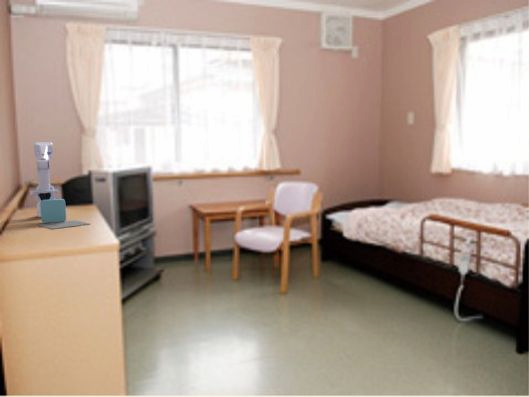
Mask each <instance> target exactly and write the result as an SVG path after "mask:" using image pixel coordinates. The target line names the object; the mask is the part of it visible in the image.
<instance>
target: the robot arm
mask: <svg viewBox="0 0 529 397" xmlns="http://www.w3.org/2000/svg"><path fill="white" fill-rule="evenodd" d="M53 145H54V144H53V143H52V142H51V141H50V142H49V141H47V142H46V141H43V142H42V141H41V142H39V141H37V142H36V141H35V142H34V143H33V150H34V156H35V159H37V161H36V162H35V163H36V170H37V172H36V173H37V184H38V186H36V188H35V190H30V191H29V194H30V196H32V195H35V201H37V204H36V215H35V217H38V218H41V207H40V203H41V201H42V200H52V199H56V194H59V189H58V188H57V189H56V188H55V187H54V185H51V180H50V179H51V178H50V176H51V175H50V170H51V162H50V159H52V158H53V157H54V154H53V153H54V150H53V148H54V147H53Z"/></svg>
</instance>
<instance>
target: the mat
mask: <svg viewBox="0 0 529 397" xmlns="http://www.w3.org/2000/svg"><path fill="white" fill-rule="evenodd" d="M81 225H82V226H88V225H91V223H89V222H86V221H81V220H76V219H75V220H74V219H73V220H65V221H64V222H53V223H41V224H38V225H37V227H38V226H39V227H40V228H41V227H42V228H46V229H49V230H57V229H66V228H74V227H80V226H81Z"/></svg>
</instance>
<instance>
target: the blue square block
mask: <svg viewBox="0 0 529 397" xmlns="http://www.w3.org/2000/svg"><path fill="white" fill-rule="evenodd" d="M40 207H41V217H40V219H41V220H40V221H41V222H42V224H49V223H57V222H65V221H67V208H66V207H67V206H66V201H65V199H64V198H55V199H52V200H42V201H41V203H40Z"/></svg>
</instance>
